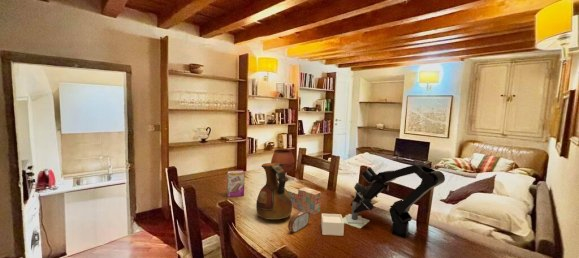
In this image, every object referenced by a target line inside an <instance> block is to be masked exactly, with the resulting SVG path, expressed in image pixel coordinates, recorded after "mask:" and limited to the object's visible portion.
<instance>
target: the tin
mask: <svg viewBox="0 0 579 258" xmlns="http://www.w3.org/2000/svg"><path fill="white" fill-rule="evenodd" d="M309 221H310V213H308V212H307V211H305V210H300V211H298V212H296V213H294V214H293V215H291V216H290V218H289V220H288V223H287V229H288V231H289V232H292V233H297V232H298V231H300V230H302V229H304V228H305V227H306V226H307V225H308V224H309Z"/></svg>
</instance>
